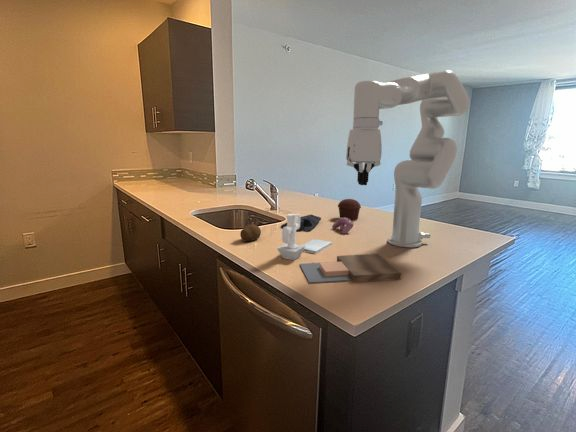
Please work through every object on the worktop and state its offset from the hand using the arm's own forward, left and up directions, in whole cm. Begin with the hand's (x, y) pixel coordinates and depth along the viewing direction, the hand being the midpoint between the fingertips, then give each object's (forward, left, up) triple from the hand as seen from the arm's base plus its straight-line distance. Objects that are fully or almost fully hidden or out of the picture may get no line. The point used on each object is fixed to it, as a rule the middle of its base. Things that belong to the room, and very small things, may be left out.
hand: (362, 184), depth 102 cm
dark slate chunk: (+10, -47, -26) cm, 55 cm away
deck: (+1, +10, -25) cm, 27 cm away
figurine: (+22, -5, -25) cm, 34 cm away
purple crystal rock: (-6, -34, -25) cm, 43 cm away
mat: (+15, +10, -25) cm, 30 cm away
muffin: (-16, -56, -25) cm, 64 cm away
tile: (+12, +10, -25) cm, 29 cm away
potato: (+35, -27, -25) cm, 51 cm away
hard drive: (+12, -14, -26) cm, 32 cm away
